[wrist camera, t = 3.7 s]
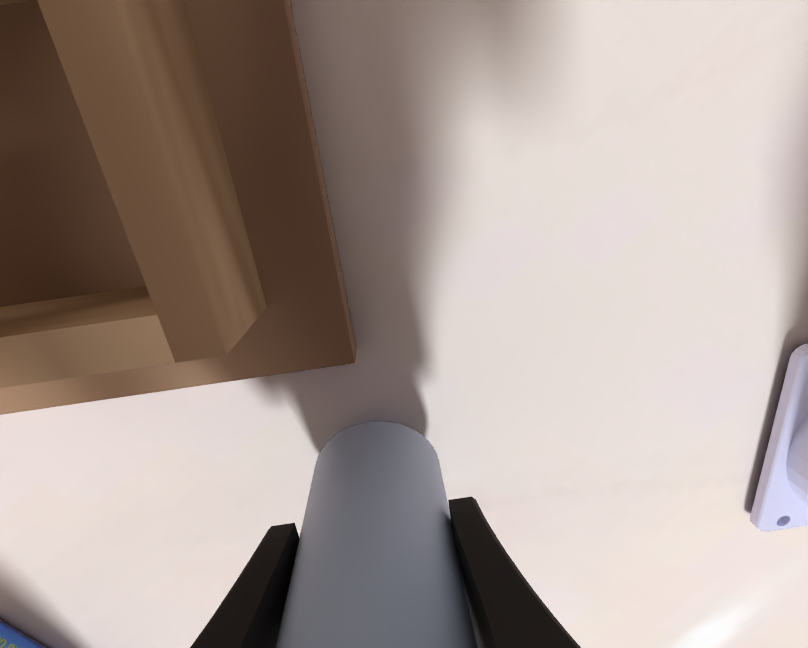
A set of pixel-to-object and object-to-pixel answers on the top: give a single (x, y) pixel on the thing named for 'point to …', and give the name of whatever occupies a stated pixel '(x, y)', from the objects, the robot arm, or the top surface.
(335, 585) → the peg
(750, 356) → the top surface
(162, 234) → the socket holder
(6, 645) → the medicine box
